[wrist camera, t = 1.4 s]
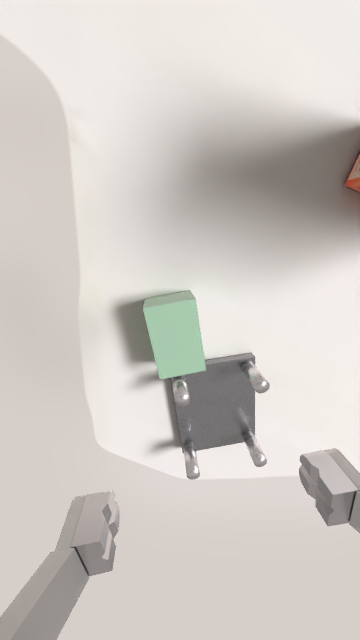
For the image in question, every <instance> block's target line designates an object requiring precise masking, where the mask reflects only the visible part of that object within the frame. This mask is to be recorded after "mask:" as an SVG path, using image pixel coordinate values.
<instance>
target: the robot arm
mask: <svg viewBox="0 0 360 640" xmlns="http://www.w3.org/2000/svg"><path fill="white" fill-rule="evenodd" d="M300 462H301V463H302V465H301V466H300V468H299V475H300V479H301V482H302V484H303V486H304V488H305V490H306V492H307V493H308V494H309V495H310V496H311V497H313V498H314V499H315V505H316V508H317V509H318V511H319V513H320V514H321V516H322V518H323V519H324V521H325V523H326V524H327V526H332V525H338V524H344V523H349V524H350V525H351V526H352V527H353V528H354V529H356V530H357V531H358V532H359V533H360V473H359V472H358V471H357V470H356V469H355V468H354V466H353V465H352V464H351V463H350V462H349V461H348V460H347V459H346V458H345V457H344V455H343V454H342V453H341V452H340V451H339V450H337V449H334V448H333V449H328V450H322V451H317V452H312V453H307V454H302V455H301V456H300ZM114 498H115V494H114V492H113V490H112V491H107V492H101V493H95V494H90V495H83V496H78V497H75V498H74V500H73V501H72V503H71V506H70V509H69V512H68V515H67V518H66V521H65V523H64V526H63V529H62V532H61V535H60V538H59V541H58V543H57V546H56V549H55V551H54V552H51V553H50V554H49V555H48V556H47V558H46V559H45V560H44V562H43V563H42V564H41V565H40V567H39V568H38V569H37V571H36V572H35V573H34V574H33V576H32V577H31V578H30V580H29V581H28V582H27V583H26V585H25V586H24V587H23V589H22V590H21V591H20V593H19V594H18V595H17V596H16V598H15V599H14V600H13V602H12V603H11V604H10V606H9V607H8V608H7V609H6V611H5V612H4V613H3V615H2V616H1V617H0V640H56V639H57V637H58V636H59V634H60V632H61V630H62V628H63V626H64V624H65V622H66V621H67V619H68V617H69V615H70V613H71V611H72V609H73V607H74V606H75V604H76V602H77V600H78V598H79V596H80V594H81V592H82V591H83V589H84V587H85V585H86V583H87V581H88V579H89V577H88V576H92V575H96V574H101V573H105V572H109V571H112V569H113V562H114V556H115V548H116V546H115V543H114V540H113V539H114V537H115V535H116V534H117V532H118V527H119V506H118V503H117V502H116V501H114Z"/></svg>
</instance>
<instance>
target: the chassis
mask: <svg viewBox="0 0 360 640" xmlns="http://www.w3.org/2000/svg"><path fill="white" fill-rule="evenodd" d="M205 367H206V370H205V371H200V372H195V373H190V374H185V375H180V376H176V377H171V384H172V390H173V396H174V402H175V408H176V414H177V420H178V426H179V432H180V439H181V445H182V451H183V453H184V456H185V465H186V473H187V477H188V478H189V479H196V478H198V477H199V475H200V473H199V467H198V462H197V456H196V451H197V450H203V449H209V448H214V447H220V446H225V445H231V444H236V443H242V442H245V444H246V446H247V448H248V450H249V453H250V455H251V457H252V460H253V462H254V464H255V466H257V467H261V466H264V465H265V464H266V463H267V460H266V458H265V456H264V454H263V452H262V450H261V448H260V446H259V444H258V442H257V440H256V438H255V391H256V392H258V393H264V392H266V391H267V390H268V389H269V383H268V382H267V380H266V379H265V378H264V376H263V375H262V374H261V373H260V371H259V370H258V369H257V368H256V366H255V356H254V355H253V354H252V353H247V354H241V355H235V356H229V357H222V358H216V359H210V360H205Z"/></svg>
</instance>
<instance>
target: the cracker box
mask: <svg viewBox="0 0 360 640" xmlns="http://www.w3.org/2000/svg"><path fill="white" fill-rule="evenodd" d="M344 186H346V187H349V188H351V189H353V190H356V191H358V192H360V153H359V155H358V157H357V159H356V161H355V163H354V166H353V168H352V170H351V172H350V174H349V176H348V178H347V180H346V182H345V184H344Z"/></svg>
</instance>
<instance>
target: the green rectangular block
mask: <svg viewBox="0 0 360 640" xmlns="http://www.w3.org/2000/svg"><path fill="white" fill-rule="evenodd" d="M143 312H144V316H145V320H146V324H147V328H148V332H149V337H150V341H151V345H152V349H153V353H154V357H155V361H156V366H157V370H158V374H159V378H160V380H161V379H166V378H171V377H176V376H180V375H185V374H190V373H195V372H200V371H205V370H206V367H205V360H204V353H203V346H202V339H201V332H200V326H199V319H198V312H197V305H196V299H195V297H194V296H193V294H192V293H191V291H190V290H189V291H183V292H178V293H173V294H167V295H162V296H157V297H151V298H146V299H145V301H144V306H143Z"/></svg>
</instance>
